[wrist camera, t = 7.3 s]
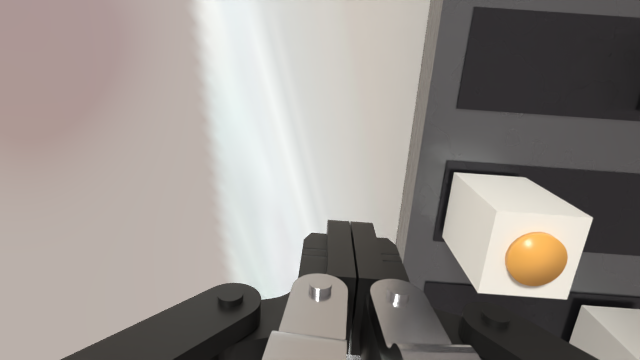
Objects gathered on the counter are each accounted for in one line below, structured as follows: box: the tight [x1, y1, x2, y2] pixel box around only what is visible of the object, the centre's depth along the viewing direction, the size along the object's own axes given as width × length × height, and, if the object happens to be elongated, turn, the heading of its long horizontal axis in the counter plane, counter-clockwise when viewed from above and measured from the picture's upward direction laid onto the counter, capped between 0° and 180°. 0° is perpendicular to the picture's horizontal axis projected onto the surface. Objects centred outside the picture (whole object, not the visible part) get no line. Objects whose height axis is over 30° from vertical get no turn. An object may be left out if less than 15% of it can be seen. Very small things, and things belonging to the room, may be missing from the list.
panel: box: [396, 0, 640, 343], centre depth 17 cm, size 24×13×2 cm, turn 176°
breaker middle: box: [442, 172, 593, 300], centre depth 14 cm, size 3×3×4 cm
